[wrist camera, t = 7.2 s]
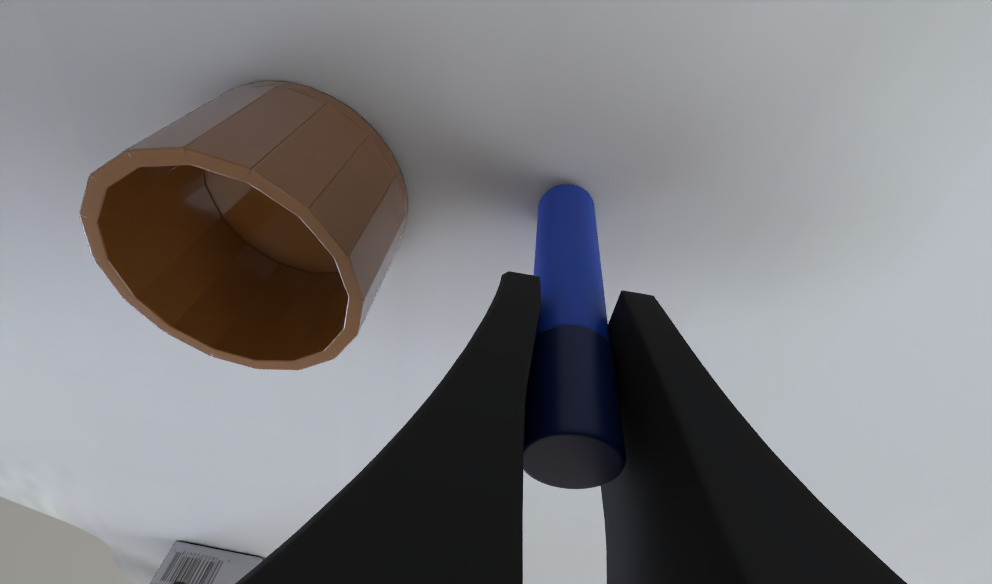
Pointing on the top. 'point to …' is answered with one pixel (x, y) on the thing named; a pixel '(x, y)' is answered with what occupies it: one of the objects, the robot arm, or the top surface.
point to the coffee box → (203, 566)
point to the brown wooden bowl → (252, 225)
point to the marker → (571, 354)
